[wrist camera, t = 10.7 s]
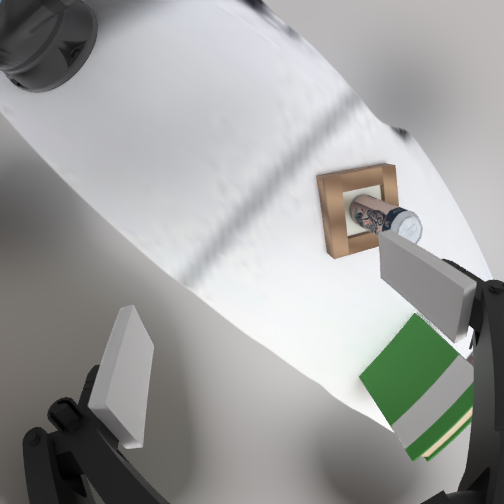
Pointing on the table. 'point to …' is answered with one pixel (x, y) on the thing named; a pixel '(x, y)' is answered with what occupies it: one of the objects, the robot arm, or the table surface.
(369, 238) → the picture frame
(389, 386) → the hardback book
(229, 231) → the table surface
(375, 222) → the beer can
